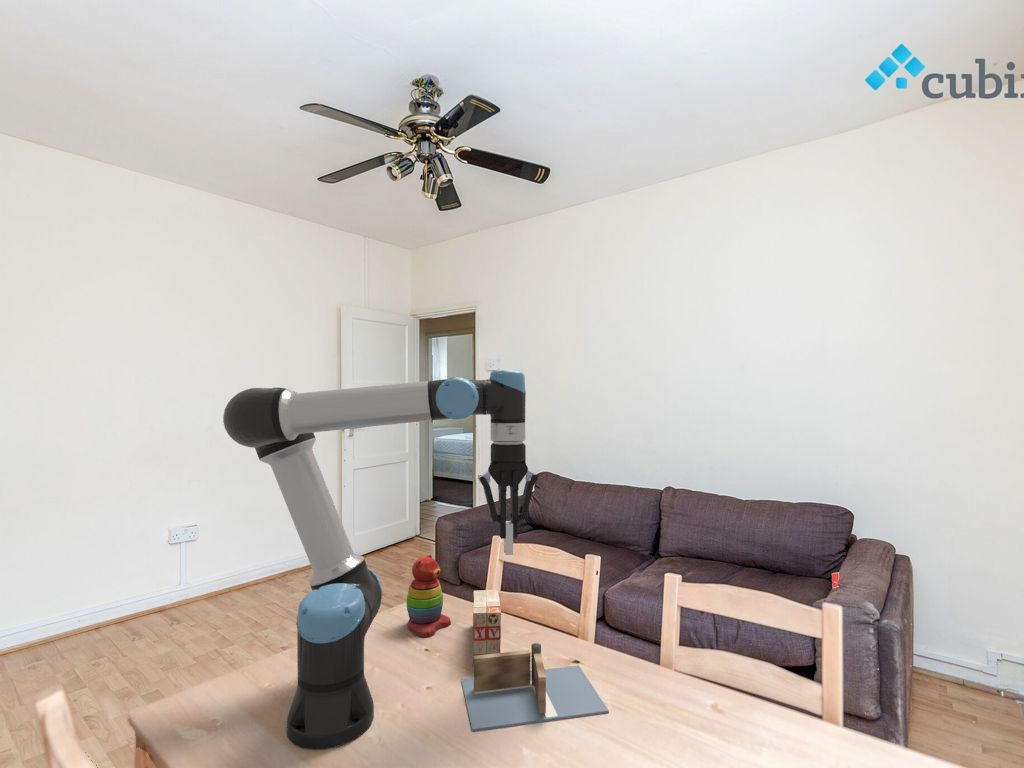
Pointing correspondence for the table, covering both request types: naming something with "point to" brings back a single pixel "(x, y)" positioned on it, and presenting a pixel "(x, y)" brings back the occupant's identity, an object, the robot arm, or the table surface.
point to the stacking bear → (425, 599)
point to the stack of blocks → (486, 623)
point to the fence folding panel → (540, 682)
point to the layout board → (533, 701)
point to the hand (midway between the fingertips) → (508, 553)
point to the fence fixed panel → (504, 669)
